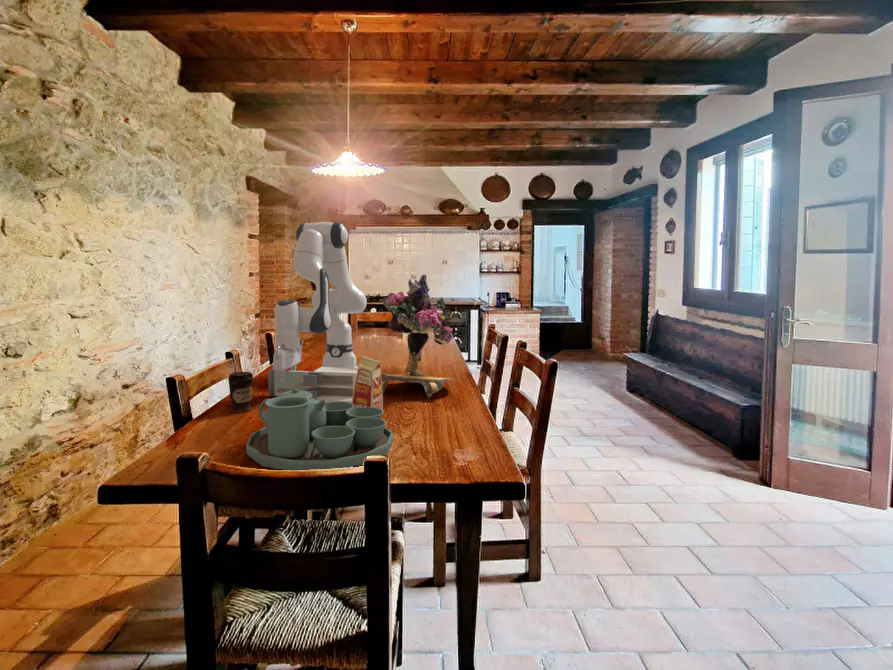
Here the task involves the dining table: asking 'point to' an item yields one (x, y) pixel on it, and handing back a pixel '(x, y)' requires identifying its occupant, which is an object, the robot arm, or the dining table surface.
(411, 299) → the flower vase arrangement
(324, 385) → the cabinet
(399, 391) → the dining table surface
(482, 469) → the dining table surface
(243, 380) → the coffee cup
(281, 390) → the door rack
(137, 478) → the dining table surface
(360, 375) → the milk carton
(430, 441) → the dining table surface
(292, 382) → the door
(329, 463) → the tea set
